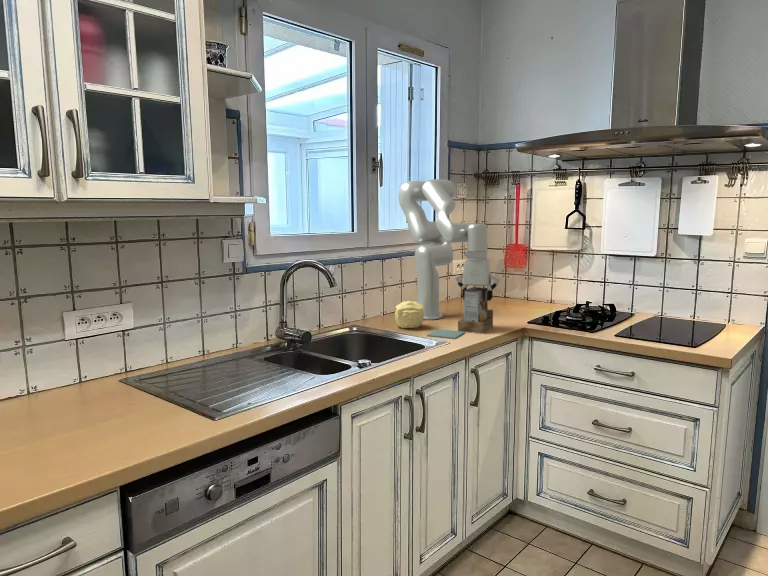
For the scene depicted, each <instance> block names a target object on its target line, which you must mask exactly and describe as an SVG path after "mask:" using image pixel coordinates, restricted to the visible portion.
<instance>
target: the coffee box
mask: <svg viewBox="0 0 768 576" xmlns="http://www.w3.org/2000/svg"><path fill="white" fill-rule="evenodd" d="M487 291H488V288H487V287H481V286H474V287H469V288H466V290H464V300H463V318H464V321H471V322H483V321H484V320H486V319H487V309H488V302H489V301H488V300H487Z"/></svg>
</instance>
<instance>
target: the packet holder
mask: <svg viewBox="0 0 768 576" xmlns="http://www.w3.org/2000/svg"><path fill="white" fill-rule="evenodd" d="M493 324H494V309H488V308H487V319H486V320H484V321H483V322H471V321H464V317H463V318H461V319H459V320H458V321H457V331H462V332H465V333H472V332H474V333H475V334H482V333H483V334H485V333H487V332H488V331H489V330H490V328H491V329H492V328H493V327H494V325H493ZM487 330H488V331H487ZM484 332H485V333H484ZM474 333H473V334H474Z"/></svg>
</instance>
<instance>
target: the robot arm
mask: <svg viewBox="0 0 768 576" xmlns="http://www.w3.org/2000/svg"><path fill="white" fill-rule="evenodd" d="M455 195H456V187H455V185H454V183H453V182H452V181H451V180H449V179H439V178H438V179H437V178H435V179H433V178H432V179H428V180H426V181H425V180H408V181H406V182H404V183H402V184H401V185H400V186H399V190H398V196H397V197H398V203H399V205H400V208H401V210H402V211H403V214H404V216H405V219H406V223H407V226H408V228H409V231H410V235H411V237H412V240H413V242H415V244H419V245H420V244H422V245H420V246H418V247H417V248H416V249H415V253H414V260H415V265H416V276H417V277H416V282H417V283H416V285H417V286H416V294H417V295H416V302H417V303H419V304H421V305H423V306H424V308H423V312H424V318H423V320H426V321H427V320H428V321H429V320H439V319H442V318H443V314H442V313H441V312H440V275H439V271H438V270H437V268H436V267H440V266H448V265H449V264H452V262H453V259H454V251H453V245H452V244H453V243H455V244H456V243H457V244H458V243H467V247H466V248H467V251H466V252H464V253H463V257H466V258H467V259H464V264H463V265H464V266H463V273H462V274H460V275H458V276H457V277H455V281H456V283H457V285H458V287H460V289H461V292H462V295H461V297H462V299H463V301H464V290H466V289H467V288H468V286H476V287H482V286H484V287H485V288H488V291H487V300H488V302H489V301H492V299H493V294H494V293H493V290H494V289H495V288H496V287H497V286H498V284H499V283H500V278H499V277H497V276H495V275H493V274H492V273H491V271H492V269H491V264H490V259H488V225H487V224H485V223H472V222H459V223H458V222H452V221H451V219H450V217H449V216H450V215H451V214H452V213H453V212H454V210H455V208H456V202H455V201H454V199H453V198H454V196H455ZM418 201H420V202H421V201H422V202H423V201H424V202H428V204H430V206H431V208H432V209H433V210H434V211H435V213H436V215H435V221H429V220H428V218H427V216H426V212H425V211H424V209H423V208H422V206H421V205H420V204H419V203H418ZM492 281H494V283H491V282H492Z"/></svg>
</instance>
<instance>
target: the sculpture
mask: <svg viewBox="0 0 768 576" xmlns="http://www.w3.org/2000/svg"><path fill="white" fill-rule="evenodd" d="M423 308H424V306H423V305H421V304H419V303H417V300H415V301H413V300H412V301H411V300H407V301H406V300H405V301H404V300H403V301H401V302H400V303H398V304H397V305H396V306H395V312H394V320H395V323H396V325H397V326H398V327H399V328H402V329H405V328H414V329H417V328H419V327H421V325H422V324H423V322H424V321H423V320H424V319H423V318H424V312H423Z"/></svg>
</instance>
